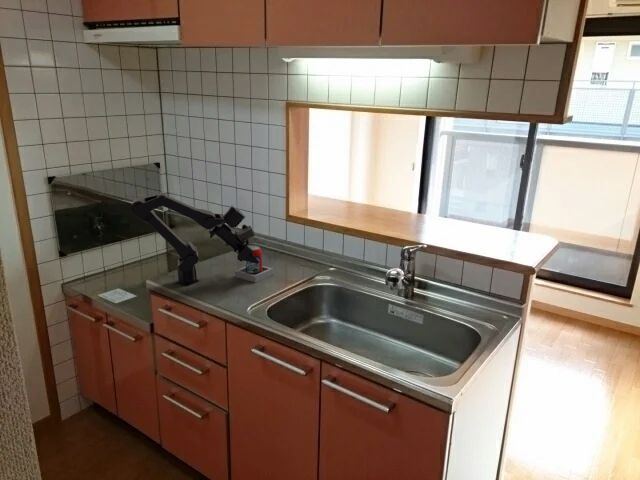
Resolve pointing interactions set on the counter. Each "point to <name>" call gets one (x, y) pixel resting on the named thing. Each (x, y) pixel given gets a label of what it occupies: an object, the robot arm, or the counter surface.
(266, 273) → the holder
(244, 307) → the counter surface
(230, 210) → the robot arm
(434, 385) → the counter surface
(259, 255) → the beverage can
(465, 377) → the counter surface
